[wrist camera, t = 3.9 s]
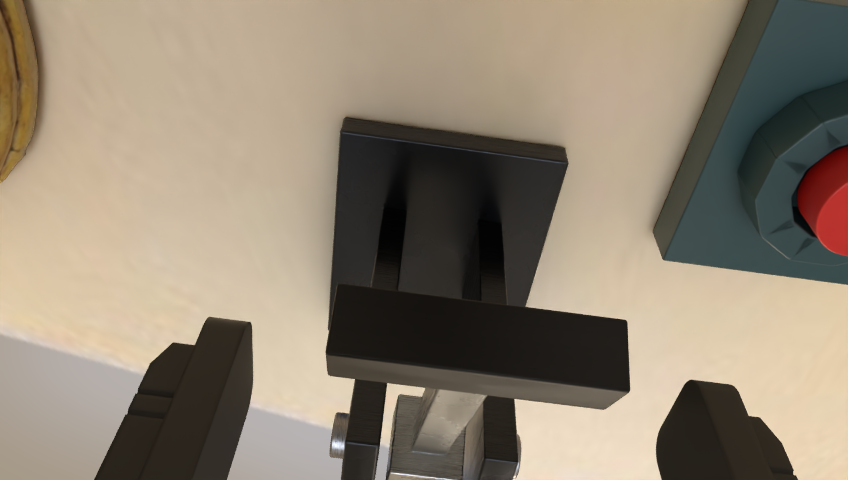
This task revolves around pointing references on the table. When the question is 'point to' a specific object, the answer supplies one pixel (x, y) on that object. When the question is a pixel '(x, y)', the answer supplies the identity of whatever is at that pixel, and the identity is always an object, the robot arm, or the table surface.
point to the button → (827, 200)
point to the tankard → (16, 84)
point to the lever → (468, 364)
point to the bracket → (439, 254)
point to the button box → (764, 146)
